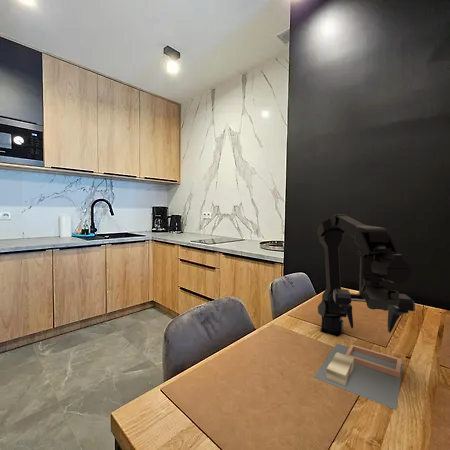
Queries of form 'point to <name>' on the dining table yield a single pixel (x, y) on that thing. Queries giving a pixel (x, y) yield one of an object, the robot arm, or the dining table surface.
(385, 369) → the frame
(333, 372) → the tan oblong block
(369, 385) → the mat
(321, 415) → the dining table surface
